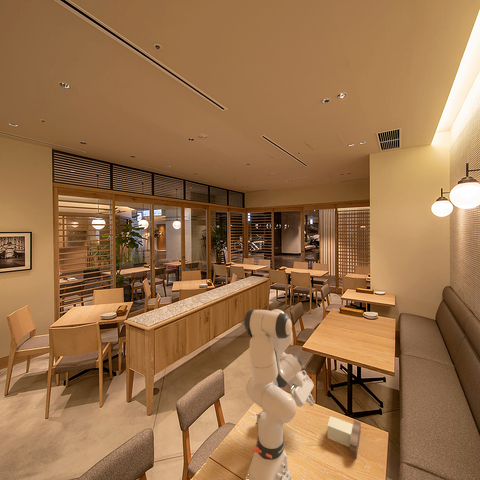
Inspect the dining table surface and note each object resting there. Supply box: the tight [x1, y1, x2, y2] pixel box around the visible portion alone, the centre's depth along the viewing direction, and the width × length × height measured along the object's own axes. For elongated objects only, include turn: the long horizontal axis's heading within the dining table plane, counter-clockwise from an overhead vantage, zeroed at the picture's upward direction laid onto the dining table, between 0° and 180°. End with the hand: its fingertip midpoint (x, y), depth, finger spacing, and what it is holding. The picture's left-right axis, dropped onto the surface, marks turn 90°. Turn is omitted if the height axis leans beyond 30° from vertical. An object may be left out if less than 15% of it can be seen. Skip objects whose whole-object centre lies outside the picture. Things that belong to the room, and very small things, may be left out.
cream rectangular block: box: [327, 415, 354, 448], centre depth 126 cm, size 7×11×7 cm, turn 58°
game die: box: [255, 409, 265, 425], centre depth 134 cm, size 9×8×10 cm
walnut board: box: [349, 419, 362, 459], centre depth 122 cm, size 16×3×6 cm, turn 148°
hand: (313, 404), depth 131 cm, fingers closed
